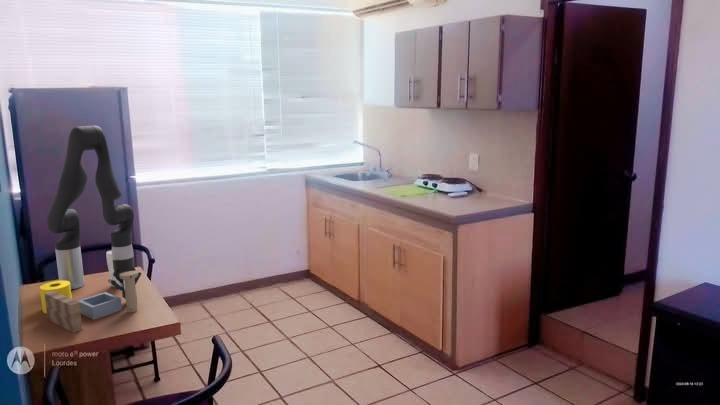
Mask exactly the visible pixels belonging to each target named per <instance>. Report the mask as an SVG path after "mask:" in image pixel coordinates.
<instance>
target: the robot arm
mask: <svg viewBox="0 0 720 405" xmlns="http://www.w3.org/2000/svg"><path fill="white" fill-rule="evenodd" d="M85 151H95V154H96V156H97V167H96V172H95V176H94V177H95V179H94V180H95V185H96V188H97V191H98V193H99V196H100V198H101V205H102V216H103V220H104V221H105V223H107V224H108V225H109V226H117V225H118V227H117V228H116V229H114V230H112V231H111V232H110V240H111V241H110V242H111V250H112V260H113V269H114V273H113V277H112V278H111V279H109V278H108V280H107V282H108V284H110V285H111V286H112V285H113V286H114V287H113V286H112V287H113V288H114V289H116V290H118V291H121V295H122V296H121V297H122V298H123V299H124V300H126V297H125V280H123V279H121V278H120V274H121V273H123V272H128V271H137V270H136V268H135V258H134V248H133V244H132V243H133V242H132V230H133V224H134V220H135V219H134V218H135V214H134V210H133V208H132V206H131V205H129V204H126V203H125V204H119V205H115V201H117V200H118V199H120V198H121V197H122V191H121V190H120V187H119V184H118V181H117V179H116V177H115V174H114V171H113V167H112V161H111V156H110V151H109V147H108V143H107V139H106V135H105V133H104V131H103V129H102V128H101V127H100V126H98V125H79V126H75V127H73V128H72V129H71V131H70V132H69V136H68V141H67V147H66V156H65V161H64V164H63V165H64V166H63V169H62V172H61V174H60V179H59V182H58V188H57V190H56V194H55V197H54V199H53V202H52V205H51V207H50V210H49V212H48V215H47V218H46V226H47V230H48V231H49V232H50V233H52V234H57V235H58V234H63V233H64V234H63V236H61V238H59V239H57V240H56V241H55V242H54V250H55V256H56V259H55V260H56V265H57V266H56V267H57V274H58V275H57V276H58V281H69V282H70V286H71V290H76V289H80V288H83V286H84V285H85V277H84V269H83V268H84V267H83V258H82V251H81V250H82V249H81V238H82V236H81V222H80V221H81V220H80V216H79V214H78V212H77V211H76V210H75V209H74V208H70V207H71V205H73V204H74V203H75V202H76V201H77V200H78V199H79V198H80V197H81V195H82V194H83V193H84V191H85V188H86V186H87V183H88V179H89V178H88V172H87V171H86V168H85V167H84V165H83V162H82V158H83V154H84V152H85ZM138 274H139V275H138V276H137V277H136V278H135V286H136V285H137V282H138V281H139V279H140V278H141V275H142V272H140V271H138ZM116 279H117V280H118V281H119V284H120V285H119V284H117V283H116V282H117V280H116Z"/></svg>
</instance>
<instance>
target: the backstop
mask: <svg viewBox="0 0 720 405" xmlns="http://www.w3.org/2000/svg"><path fill="white" fill-rule="evenodd" d="M44 295H45V302H46V310H47V313H46V316H47V320H49V322H50V321H51V322H52V323H54V324H56V325H58V326H59V327H62V328H64V329H66V330H67V331H70V332H72V333H73V334H74V333H76V332H80V331H82V330H83V322H82V316H81V315H82V314H81V313H80V305H79V302H77V301H78V300H75V299H73V298H72V299H70V298H68V297H66V296H64V295H61V294H59V293H57V292H55V291H51V292H47V293H44Z"/></svg>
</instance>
